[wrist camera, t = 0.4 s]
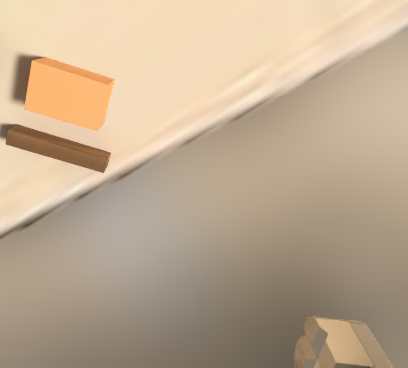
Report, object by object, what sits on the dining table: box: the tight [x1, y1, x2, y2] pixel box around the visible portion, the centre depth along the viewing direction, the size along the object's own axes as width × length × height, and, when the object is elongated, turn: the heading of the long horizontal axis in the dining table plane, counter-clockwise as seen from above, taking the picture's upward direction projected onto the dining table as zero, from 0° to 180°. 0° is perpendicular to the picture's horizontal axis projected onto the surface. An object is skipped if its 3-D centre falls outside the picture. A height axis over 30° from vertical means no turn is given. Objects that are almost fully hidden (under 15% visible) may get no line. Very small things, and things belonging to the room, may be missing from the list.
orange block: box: [24, 57, 114, 131], centre depth 48 cm, size 6×9×5 cm, turn 71°
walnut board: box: [6, 125, 111, 173], centre depth 52 cm, size 2×13×3 cm, turn 71°
